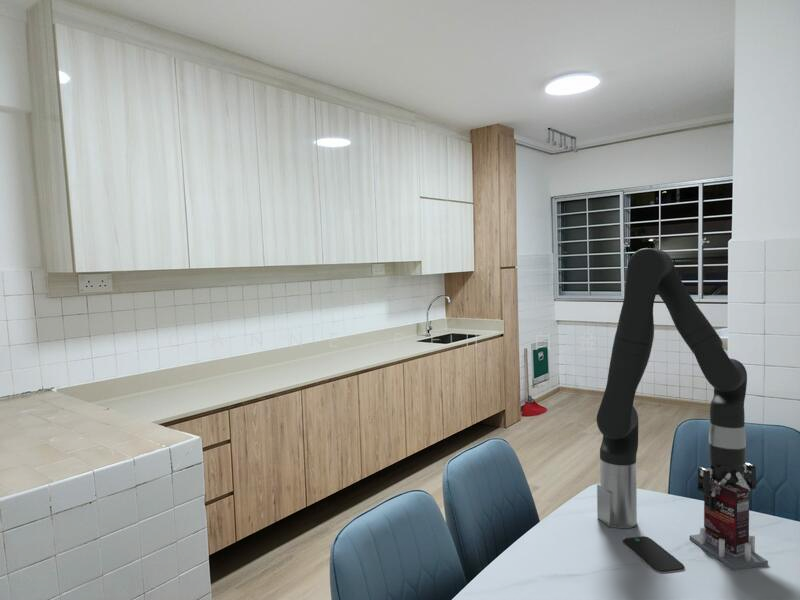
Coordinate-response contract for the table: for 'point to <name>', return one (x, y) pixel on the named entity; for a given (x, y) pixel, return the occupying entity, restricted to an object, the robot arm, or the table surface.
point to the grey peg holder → (735, 563)
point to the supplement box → (729, 519)
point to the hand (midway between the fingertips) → (726, 508)
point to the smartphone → (653, 555)
